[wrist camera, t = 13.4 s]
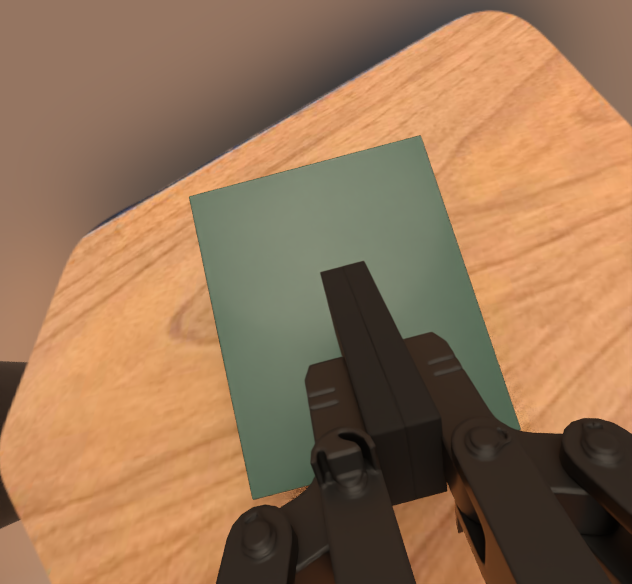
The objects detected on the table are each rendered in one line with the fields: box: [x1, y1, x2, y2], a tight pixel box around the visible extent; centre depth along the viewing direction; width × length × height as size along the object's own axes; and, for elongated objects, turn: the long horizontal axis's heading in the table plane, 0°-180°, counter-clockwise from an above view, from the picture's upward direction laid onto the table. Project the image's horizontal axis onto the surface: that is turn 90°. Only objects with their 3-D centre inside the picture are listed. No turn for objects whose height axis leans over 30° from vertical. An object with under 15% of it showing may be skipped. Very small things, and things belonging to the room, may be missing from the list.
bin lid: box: [189, 135, 521, 500], centre depth 23 cm, size 16×14×1 cm
